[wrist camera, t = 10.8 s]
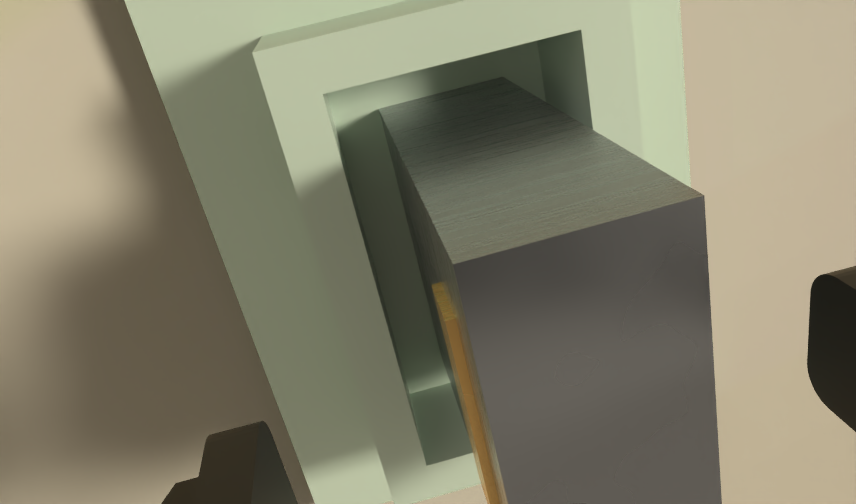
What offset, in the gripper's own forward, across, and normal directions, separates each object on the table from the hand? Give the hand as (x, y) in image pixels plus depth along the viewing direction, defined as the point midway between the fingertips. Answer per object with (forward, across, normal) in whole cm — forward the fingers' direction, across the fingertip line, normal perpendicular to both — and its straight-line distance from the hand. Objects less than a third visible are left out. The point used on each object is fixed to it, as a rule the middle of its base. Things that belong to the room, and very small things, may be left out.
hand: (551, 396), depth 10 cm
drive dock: (+9, 0, +1) cm, 9 cm away
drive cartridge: (+8, 0, +1) cm, 8 cm away
